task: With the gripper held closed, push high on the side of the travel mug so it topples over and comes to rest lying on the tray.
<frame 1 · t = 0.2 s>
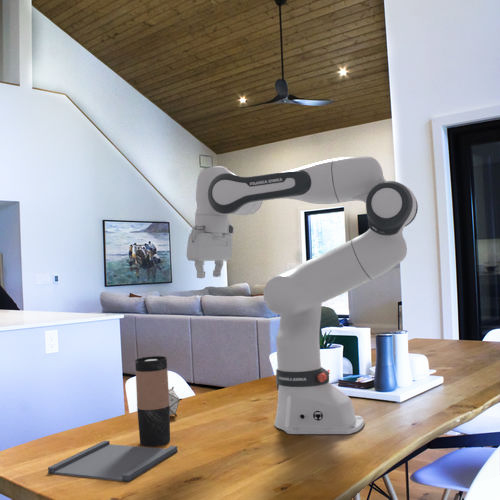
hand: (209, 277, 157), 39 cm above the table, tool pointing down, fingers open, 8 cm apart
tray: (115, 461, 126), on the table
travel mug: (155, 443, 139), on the table
game die: (166, 417, 163), on the table
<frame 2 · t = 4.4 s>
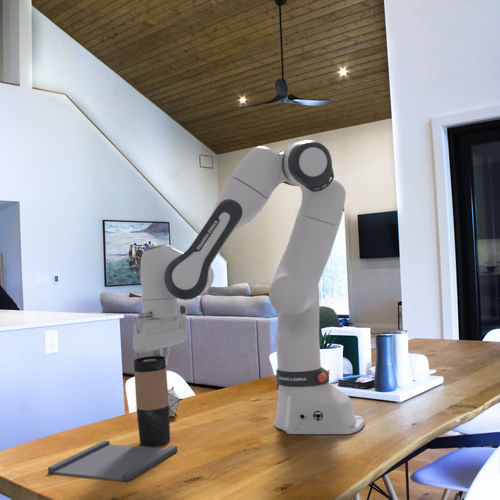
hand: (162, 365, 144), 17 cm above the table, tool pointing down, fingers closed
travel mug: (155, 442, 139), on the table, touching gripper
everything else where it was.
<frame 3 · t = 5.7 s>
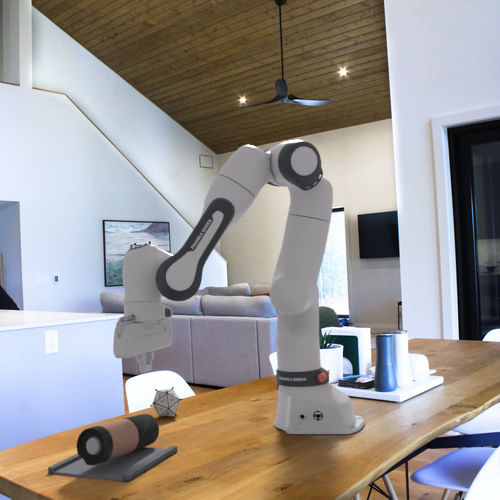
hand: (145, 371, 137), 17 cm above the table, tool pointing down, fingers closed
travel mug: (146, 429, 136), point 4 cm above the table
everything else where it was.
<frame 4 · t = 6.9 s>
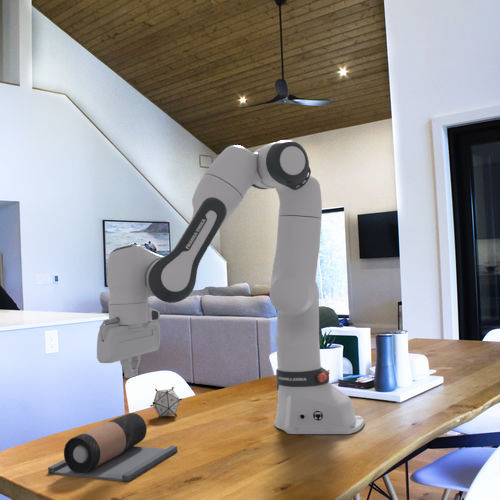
hand: (131, 376, 132), 17 cm above the table, tool pointing down, fingers closed
travel mug: (134, 427, 137), point 4 cm above the table, touching tray
everything else where it was.
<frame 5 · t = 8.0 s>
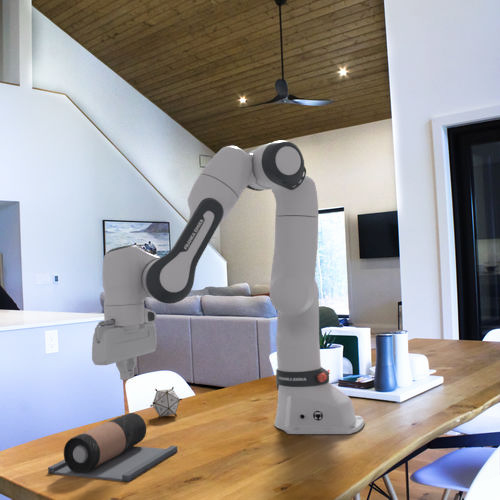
hand: (127, 378, 130), 17 cm above the table, tool pointing down, fingers closed
nothing on the table moved.
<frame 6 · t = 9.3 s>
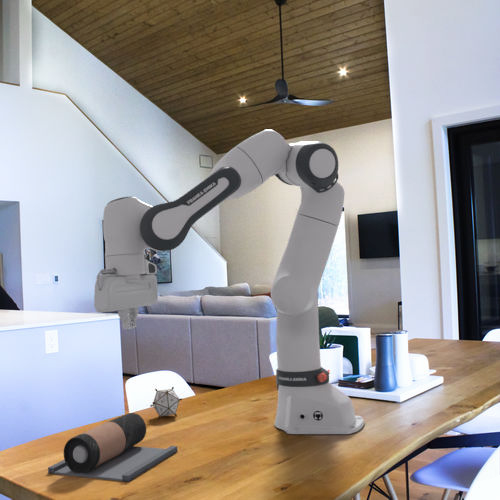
hand: (129, 328, 132), 28 cm above the table, tool pointing down, fingers closed
nothing on the table moved.
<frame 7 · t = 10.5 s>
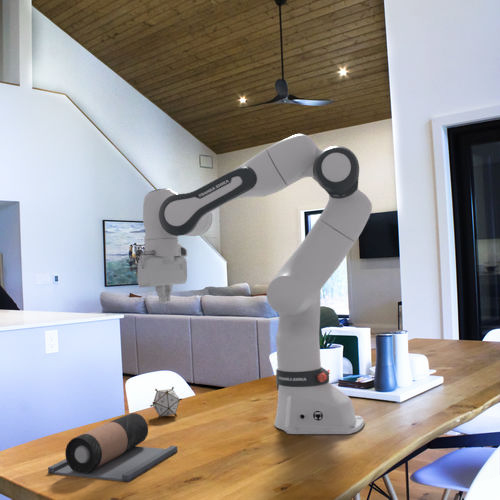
hand: (164, 302, 153), 33 cm above the table, tool pointing down, fingers closed
nothing on the table moved.
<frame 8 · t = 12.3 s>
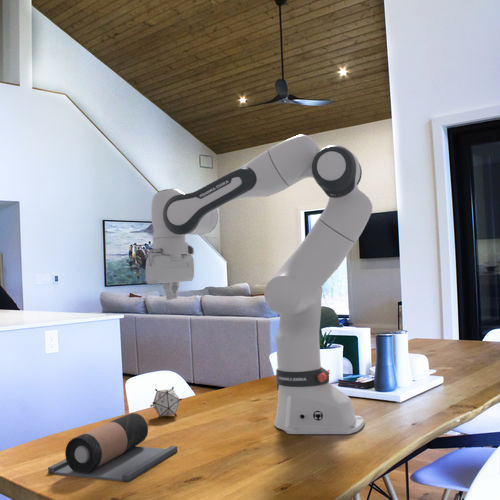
hand: (171, 299, 158), 33 cm above the table, tool pointing down, fingers closed
nothing on the table moved.
at the end: travel mug tilted 90°; travel mug inside the target area (9.7 cm from its centre), point 4.3 cm above the table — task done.
